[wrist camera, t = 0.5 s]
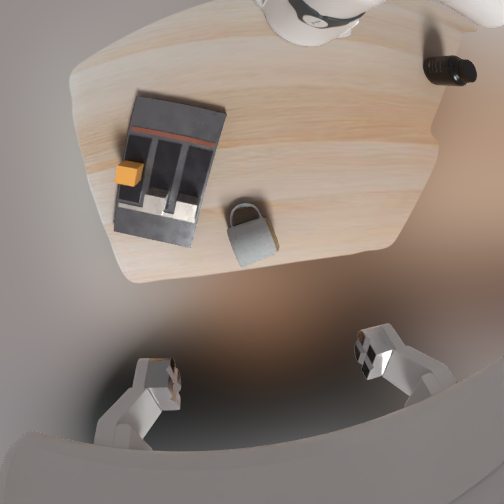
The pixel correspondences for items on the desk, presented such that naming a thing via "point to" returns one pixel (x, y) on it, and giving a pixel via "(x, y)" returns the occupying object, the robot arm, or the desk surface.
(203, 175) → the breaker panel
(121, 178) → the toggle
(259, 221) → the ceramic mug
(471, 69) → the supplement bottle
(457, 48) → the desk surface
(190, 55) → the desk surface
